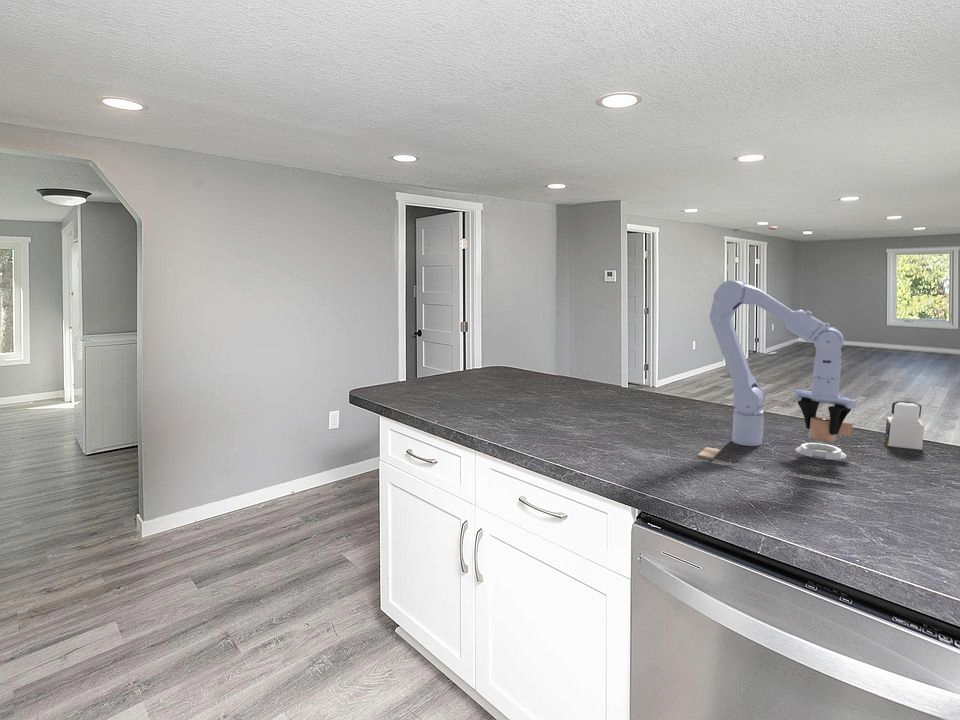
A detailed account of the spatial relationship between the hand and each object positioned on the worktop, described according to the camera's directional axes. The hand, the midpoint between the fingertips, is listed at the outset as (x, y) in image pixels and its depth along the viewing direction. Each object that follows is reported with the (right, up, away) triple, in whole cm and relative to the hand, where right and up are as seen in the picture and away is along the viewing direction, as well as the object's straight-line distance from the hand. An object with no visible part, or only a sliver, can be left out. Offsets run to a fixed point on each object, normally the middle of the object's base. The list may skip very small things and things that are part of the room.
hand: (821, 431), depth 141 cm
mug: (+2, -2, 0) cm, 3 cm away
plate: (0, -6, +1) cm, 6 cm away
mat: (-25, -6, +2) cm, 26 cm away
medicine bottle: (+25, -5, +7) cm, 27 cm away
